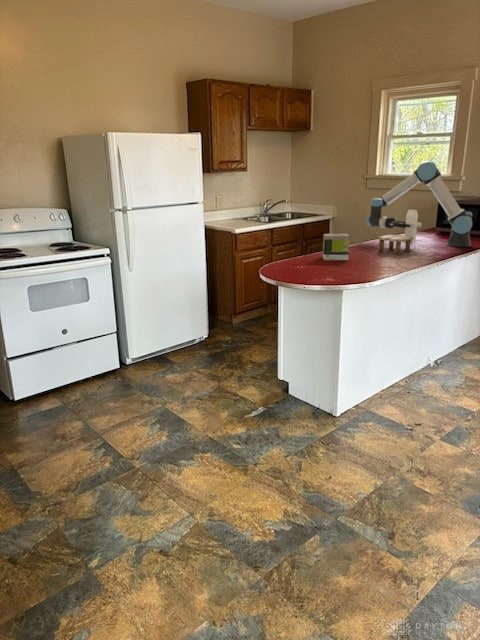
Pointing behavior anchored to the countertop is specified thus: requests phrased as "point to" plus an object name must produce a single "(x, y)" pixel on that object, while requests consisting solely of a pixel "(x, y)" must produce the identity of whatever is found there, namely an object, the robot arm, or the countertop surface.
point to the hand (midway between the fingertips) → (418, 225)
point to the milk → (411, 219)
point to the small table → (398, 240)
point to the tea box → (336, 246)
